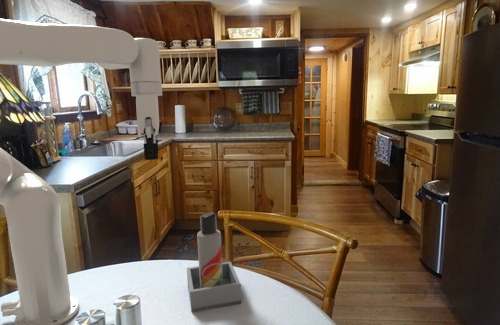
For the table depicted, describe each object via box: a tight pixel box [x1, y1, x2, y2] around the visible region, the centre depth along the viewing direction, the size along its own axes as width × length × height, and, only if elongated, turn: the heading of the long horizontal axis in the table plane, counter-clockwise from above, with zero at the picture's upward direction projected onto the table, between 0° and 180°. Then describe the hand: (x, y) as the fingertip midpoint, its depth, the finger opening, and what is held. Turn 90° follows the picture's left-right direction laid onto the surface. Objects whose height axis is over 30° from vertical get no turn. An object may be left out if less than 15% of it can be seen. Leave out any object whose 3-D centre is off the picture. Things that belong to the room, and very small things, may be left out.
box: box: [186, 261, 242, 313], centre depth 83 cm, size 12×12×5 cm
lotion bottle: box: [196, 211, 223, 288], centre depth 82 cm, size 6×6×20 cm
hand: (152, 156), depth 88 cm, fingers open, 9 cm apart
